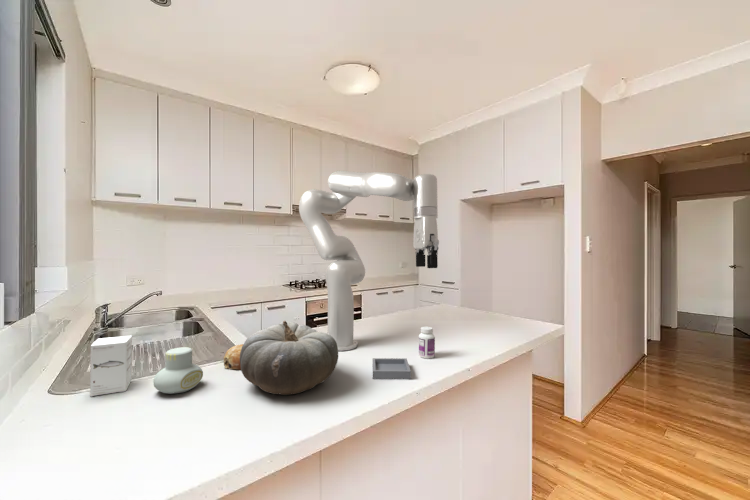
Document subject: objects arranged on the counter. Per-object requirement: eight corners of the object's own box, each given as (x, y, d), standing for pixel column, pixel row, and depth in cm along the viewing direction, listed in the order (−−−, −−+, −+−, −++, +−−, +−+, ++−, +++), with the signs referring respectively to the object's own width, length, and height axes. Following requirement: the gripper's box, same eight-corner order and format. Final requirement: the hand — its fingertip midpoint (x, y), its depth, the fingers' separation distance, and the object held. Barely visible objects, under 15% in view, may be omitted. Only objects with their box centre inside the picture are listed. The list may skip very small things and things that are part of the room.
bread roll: (220, 377, 102) (211, 357, 99) (243, 353, 111) (235, 334, 107) (246, 382, 98) (237, 361, 95) (267, 358, 107) (260, 338, 104)
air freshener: (172, 401, 79) (172, 359, 79) (146, 396, 81) (146, 355, 81) (208, 382, 89) (208, 345, 89) (184, 379, 92) (184, 342, 91)
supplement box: (89, 397, 80) (88, 345, 80) (97, 386, 86) (97, 337, 86) (126, 391, 83) (126, 341, 83) (132, 380, 90) (132, 334, 90)
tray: (372, 379, 92) (372, 371, 92) (372, 365, 103) (372, 358, 103) (410, 379, 93) (410, 371, 93) (406, 365, 103) (406, 358, 103)
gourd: (281, 352, 107) (285, 300, 104) (350, 376, 98) (357, 321, 95) (218, 391, 84) (221, 327, 81) (301, 427, 75) (308, 357, 72)
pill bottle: (434, 354, 114) (434, 326, 114) (435, 359, 109) (435, 330, 109) (418, 353, 115) (418, 325, 115) (418, 358, 110) (419, 329, 109)
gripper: (405, 216, 114) (406, 266, 114) (424, 210, 97) (425, 269, 97) (426, 216, 116) (426, 265, 116) (448, 211, 99) (449, 268, 99)
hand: (426, 267), depth 106 cm, fingers open, 9 cm apart
